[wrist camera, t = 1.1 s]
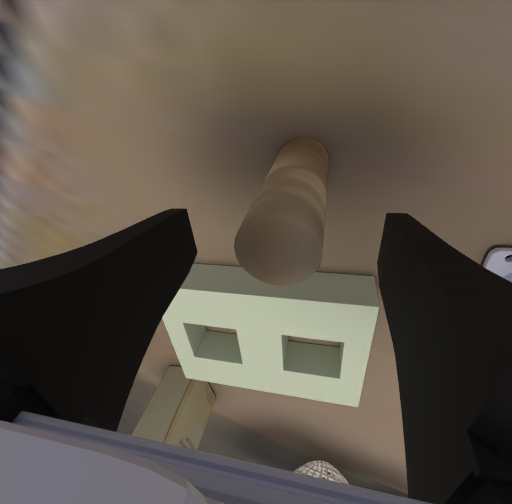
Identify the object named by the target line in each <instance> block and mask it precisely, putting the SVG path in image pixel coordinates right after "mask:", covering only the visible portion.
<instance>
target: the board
mask: <svg viewBox="0 0 512 504" xmlns="http://www.w3.org/2000/svg"><path fill="white" fill-rule="evenodd" d="M378 310H379V304H378V297H377V291H376V284H375V278H374V276H364V275H350V274H336V273H322V272H315V273H314V274H313V275H312V276H311V277H310V278H309V279H307V280H305V281H304V282H301V283H299V284H295V285H290V286H276V285H271V284H267V283H264V282H262V281H259V280H257V279H256V278H254V277H253V276H251V275H250V274H249V273H248V272H246V271H245V270H244V268H243V267H236V266H221V265H207V264H193V265H192V267H191V270H190V272H189V274H188V276H187V277H186V279H185V281H184V282H183V284H182V286H181V288H180V289H179V291H178V292H177V294H176V296H175V297H174V299H173V301H172V302H171V304H170V306H169V307H168V309H167V311H166V312H165V314H164V315H163V317H162V319H163V321H164V324H165V326H166V329H167V331H168V334H169V336H170V339H171V341H172V344H173V346H174V349H175V351H176V354H177V357H178V359H179V362H180V364H181V367H182V369H183V372H184V374H185V377H186V378H189V379H195V380H201V381H207V382H213V383H219V384H224V385H230V386H236V387H242V388H248V389H254V390H260V391H266V392H271V393H277V394H283V395H289V396H295V397H301V398H307V399H313V400H318V401H324V402H330V403H336V404H342V405H348V406H354V407H358V404H359V399H360V395H361V390H362V385H363V381H364V376H365V371H366V366H367V362H368V357H369V352H370V347H371V343H372V338H373V333H374V329H375V324H376V319H377V314H378ZM205 325H206V326H214V327H222V328H230V329H236V331H237V334H230V333H222V332H214V331H206V327H205ZM288 336H296V337H304V338H312V339H320V340H328V341H336V342H340V347H332V346H324V345H316V344H308V343H301V342H293V341H288Z"/></svg>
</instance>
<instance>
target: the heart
mask: <svg viewBox="0 0 512 504" xmlns="http://www.w3.org/2000/svg"><path fill="white" fill-rule="evenodd" d="M319 465H320V466H319ZM327 466H328V467H329V468H328V467H327ZM314 469H315V470H314ZM322 469H323V470H322ZM317 470H318V471H317ZM324 470H326V472H325V471H324ZM320 471H321V472H320ZM293 472H295V473H299V474H304V475H308V476H309V475H311V476H313V477H317V478H322V477H325V479H326V480H331V481H335V482H339V483H344V484H348V485H349V483H348V482H347V481H346V479H345V478H344V477H343V476H342V474H341V473H340V472H339V471H338V470H337V469H336V468H335V467H333V466H332V465H331V464H329V463H328V462H325V461H321V460H317V461H311V462H308V463H306V464H304V465H302V466H301V467H299V468H298V469H296V470H294V471H293ZM311 472H313V474H312V473H311ZM328 472H330V473H331V474H330V475H329V474H328ZM315 473H316V474H317V475H315ZM324 473H325V474H324ZM318 475H320V477H319V476H318ZM331 476H332V477H331ZM334 477H335V478H334ZM322 479H323V478H322Z"/></svg>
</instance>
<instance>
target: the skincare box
mask: <svg viewBox="0 0 512 504" xmlns="http://www.w3.org/2000/svg"><path fill="white" fill-rule="evenodd" d="M215 399H216V398H215V396H214V394H213V391H212V389H211V387H210V385H209V383H208V382H207V381H201V380H195V379H189V378H186V377H185V374H184V372H183V369H182V367H179V366H169V368H168V370H167V372H166V373H165V375H164V377H163V379H162V381H161V382H160V384H159V386H158V388H157V390H156V391H155V393H154V395H153V397H152V399H151V401H150V402H149V404H148V406H147V408H146V410H145V412H144V413H143V415H142V417H141V419H140V421H139V422H138V424H137V426H136V428H135V430H134V432H133V433H132V435H131V436H136V437H140V438H145V439H149V440H154V441H158V442H162V443H167V444H171V445H176V446H180V447H184V448H189V449H193V450H197V448H198V445H199V443H200V440H201V437H202V434H203V432H204V429H205V426H206V424H207V421H208V418H209V415H210V413H211V410H212V407H213V405H214V402H215Z"/></svg>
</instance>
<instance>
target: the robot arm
mask: <svg viewBox="0 0 512 504" xmlns="http://www.w3.org/2000/svg"><path fill="white" fill-rule="evenodd" d="M196 255H197V248H196V244H195V241H194V237H193V233H192V229H191V225H190V221H189V217H188V213H187V209H169V210H166V211H163V212H161V213H158V214H156V215H154V216H152V217H149V218H147V219H145V220H143V221H141V222H139V223H136V224H134V225H132V226H130V227H128V228H126V229H124V230H121V231H119V232H117V233H114V234H112V235H110V236H107V237H105V238H103V239H101V240H98V241H96V242H93V243H91V244H88V245H85V246H83V247H80V248H77V249H74V250H71V251H68V252H65V253H62V254H58V255H55V256H51V257H48V258H44V259H41V260H37V261H34V262H30V263H26V264H22V265H18V266H14V267H9V268H5V269H0V504H512V256H511V257H509V258H506V256H508V255H512V248H495V249H493V250H491V251H490V252H489V253H488V255H487V257H486V259H485V262H484V264H483V266H481V265H479V264H478V263H476V262H474V261H473V260H471V259H470V258H468V257H467V256H465V255H464V254H462V253H460V252H459V251H457V250H456V249H455V248H453V247H452V246H450V245H449V244H447V243H446V242H445V241H443V240H442V239H440V238H439V237H438V236H436V235H435V234H434V233H433V232H431V231H430V230H429V229H427V228H426V227H425V226H423V225H422V224H421V223H420V222H418V221H417V220H416V219H414V218H413V217H412V216H410V215H409V214H407V213H386V219H385V224H384V230H383V235H382V240H381V246H380V251H379V257H378V262H377V264H378V277H379V287H380V291H381V296H382V300H383V304H384V308H385V313H386V317H387V321H388V325H389V329H390V333H391V337H392V342H393V347H394V352H395V358H396V366H397V374H398V382H399V391H400V401H401V410H402V420H403V431H404V443H405V454H406V468H407V482H408V496H409V498H406V497H401V496H397V495H392V494H388V493H384V492H379V491H375V490H370V489H366V488H361V487H357V486H353V485H348V484H344V483H339V482H335V481H330V480H326V479H322V478H317V477H313V476H308V475H304V474H299V473H295V472H291V471H286V470H282V469H277V468H273V467H269V466H264V465H260V464H255V463H251V462H246V461H242V460H238V459H233V458H229V457H224V456H220V455H215V454H211V453H207V452H202V451H198V450H193V449H189V448H184V447H180V446H176V445H171V444H167V443H162V442H158V441H154V440H149V439H145V438H140V437H136V436H131V435H127V434H123V433H118V432H116V431H117V428H118V425H119V422H120V419H121V416H122V413H123V410H124V407H125V404H126V401H127V398H128V396H129V393H130V390H131V388H132V385H133V382H134V380H135V377H136V374H137V372H138V369H139V367H140V365H141V362H142V360H143V358H144V355H145V353H146V350H147V348H148V346H149V344H150V342H151V339H152V337H153V335H154V333H155V331H156V329H157V326H158V325H159V323H160V321H161V319H162V317H163V315H164V314H165V312H166V311H167V309H168V307H169V306H170V304H171V302H172V301H173V299H174V297H175V296H176V294H177V292H178V291H179V289H180V288H181V286H182V284H183V282H184V281H185V279H186V277H187V276H188V274H189V272H190V270H191V267H192V265H193V263H194V260H195V257H196Z"/></svg>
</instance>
